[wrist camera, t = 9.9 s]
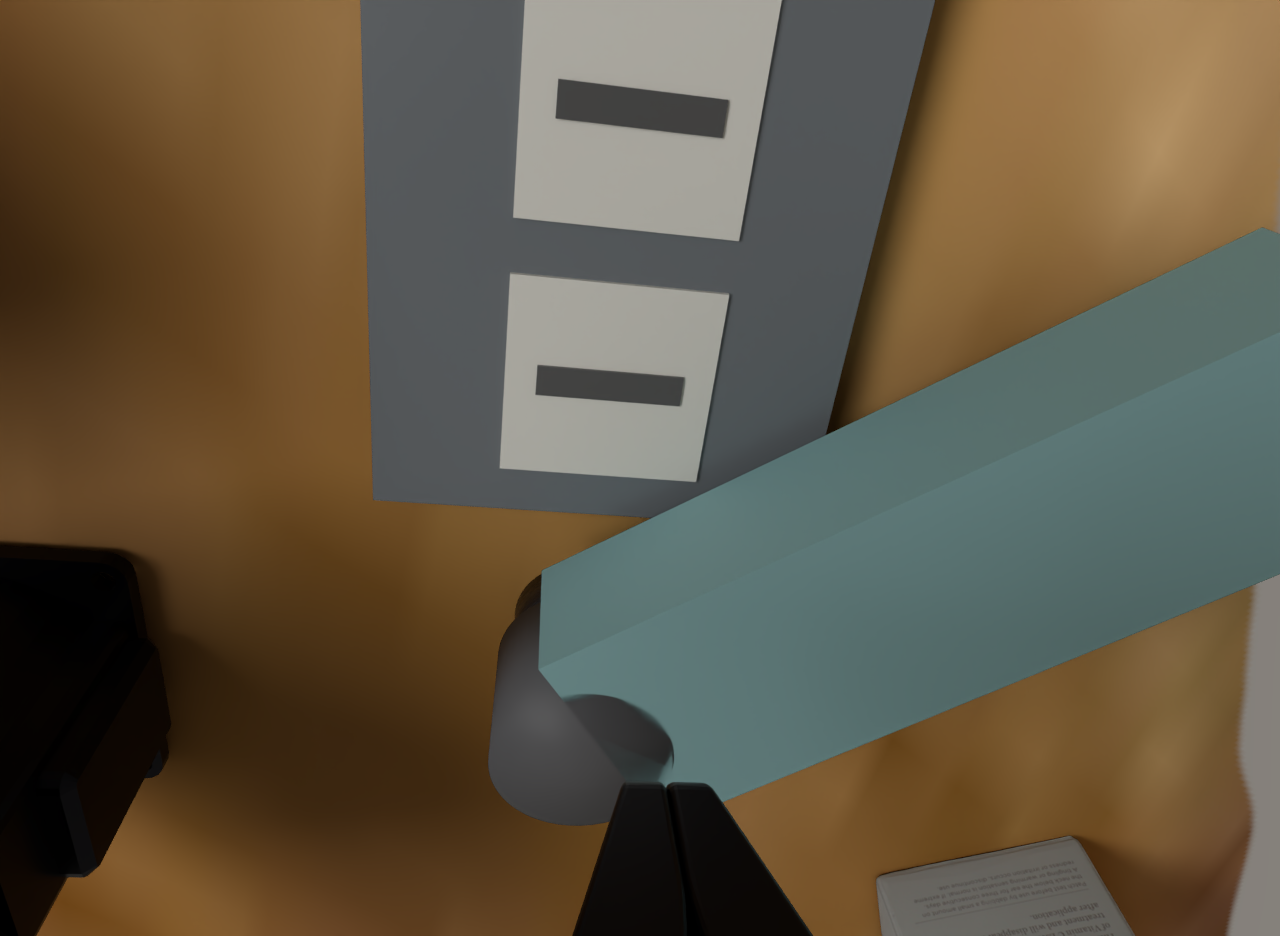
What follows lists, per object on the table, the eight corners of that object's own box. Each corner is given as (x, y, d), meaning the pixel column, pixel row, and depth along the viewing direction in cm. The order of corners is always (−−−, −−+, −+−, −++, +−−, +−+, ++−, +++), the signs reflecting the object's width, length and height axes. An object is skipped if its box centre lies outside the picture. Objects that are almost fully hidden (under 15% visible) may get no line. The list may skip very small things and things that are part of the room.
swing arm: (448, 615, 19) (430, 718, 16) (1262, 227, 16) (1396, 278, 14) (565, 756, 21) (565, 866, 19) (1293, 440, 18) (1413, 519, 16)
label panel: (381, 475, 19) (372, 504, 18) (369, -145, 14) (354, -154, 13) (791, 502, 20) (804, 531, 19) (928, -61, 15) (954, -63, 14)
